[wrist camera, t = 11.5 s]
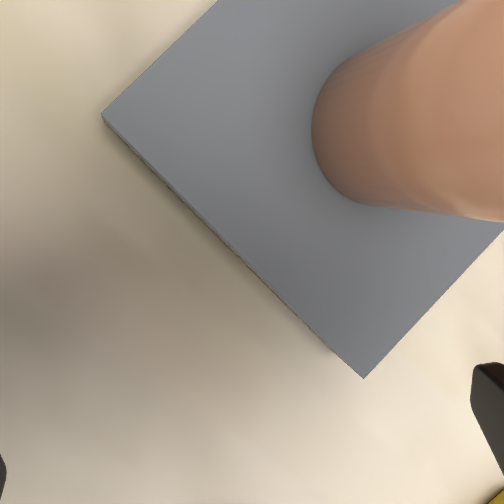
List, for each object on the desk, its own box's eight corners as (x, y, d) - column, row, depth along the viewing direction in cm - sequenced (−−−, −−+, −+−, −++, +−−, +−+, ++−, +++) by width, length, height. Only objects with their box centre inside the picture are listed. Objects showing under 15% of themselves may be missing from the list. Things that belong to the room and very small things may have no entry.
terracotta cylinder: (375, 236, 18) (703, 316, 8) (280, 125, 17) (543, 44, 6) (471, 133, 19) (900, 83, 8) (388, 14, 17) (806, -239, 7)
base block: (333, 352, 23) (363, 379, 20) (104, 121, 18) (100, 113, 15) (530, 144, 24) (586, 140, 21) (363, -128, 19) (406, -181, 16)
